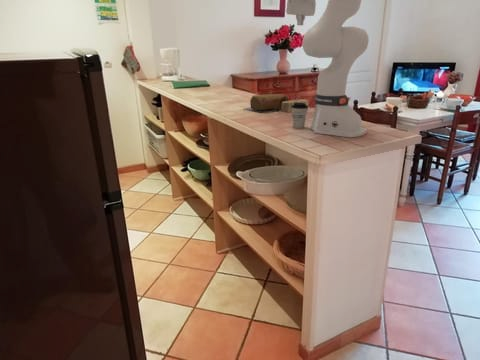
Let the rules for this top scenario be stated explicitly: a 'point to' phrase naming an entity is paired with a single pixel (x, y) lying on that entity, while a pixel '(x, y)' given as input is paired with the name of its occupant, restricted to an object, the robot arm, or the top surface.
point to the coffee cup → (299, 114)
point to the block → (268, 101)
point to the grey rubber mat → (261, 110)
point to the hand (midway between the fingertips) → (300, 25)
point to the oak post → (288, 105)
